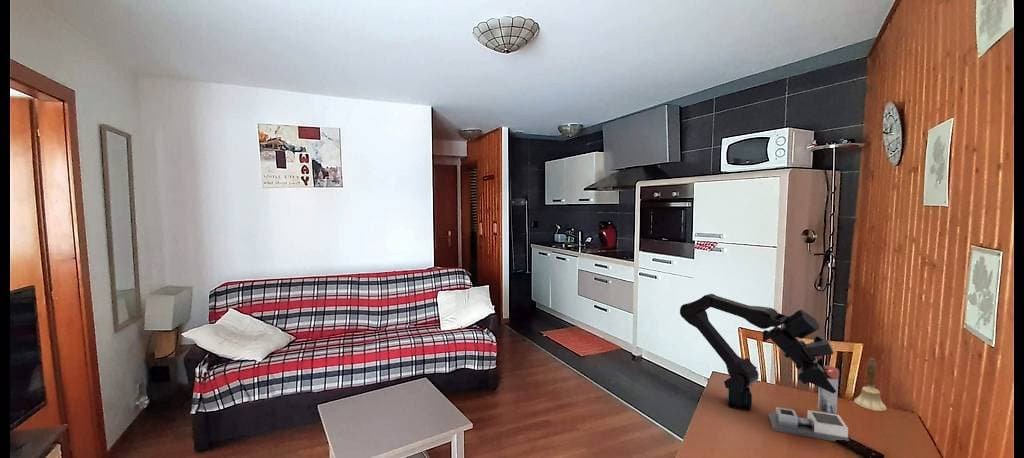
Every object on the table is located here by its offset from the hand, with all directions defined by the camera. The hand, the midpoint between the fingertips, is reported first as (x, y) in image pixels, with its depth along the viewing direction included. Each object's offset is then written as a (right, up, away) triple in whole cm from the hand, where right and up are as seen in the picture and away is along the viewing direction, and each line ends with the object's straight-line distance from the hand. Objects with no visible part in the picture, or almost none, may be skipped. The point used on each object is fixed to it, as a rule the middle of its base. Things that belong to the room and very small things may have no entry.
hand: (834, 389), depth 119 cm
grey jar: (-1, -7, +1) cm, 7 cm away
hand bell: (+25, -12, +17) cm, 33 cm away
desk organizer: (-6, -13, +3) cm, 15 cm away
